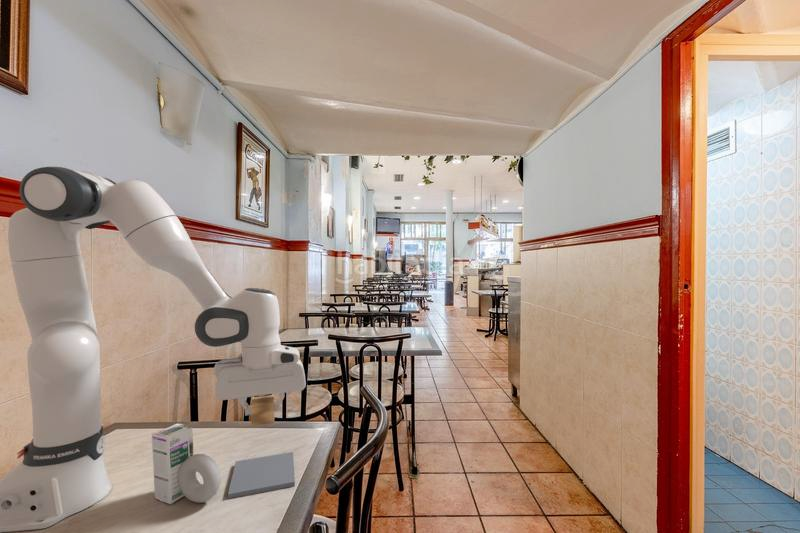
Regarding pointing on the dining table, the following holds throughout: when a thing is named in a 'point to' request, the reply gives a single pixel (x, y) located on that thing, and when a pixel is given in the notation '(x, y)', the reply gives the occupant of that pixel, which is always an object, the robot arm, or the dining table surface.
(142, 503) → the dining table surface
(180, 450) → the syrup box
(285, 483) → the slate mat
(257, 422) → the oak cube
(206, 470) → the donut
